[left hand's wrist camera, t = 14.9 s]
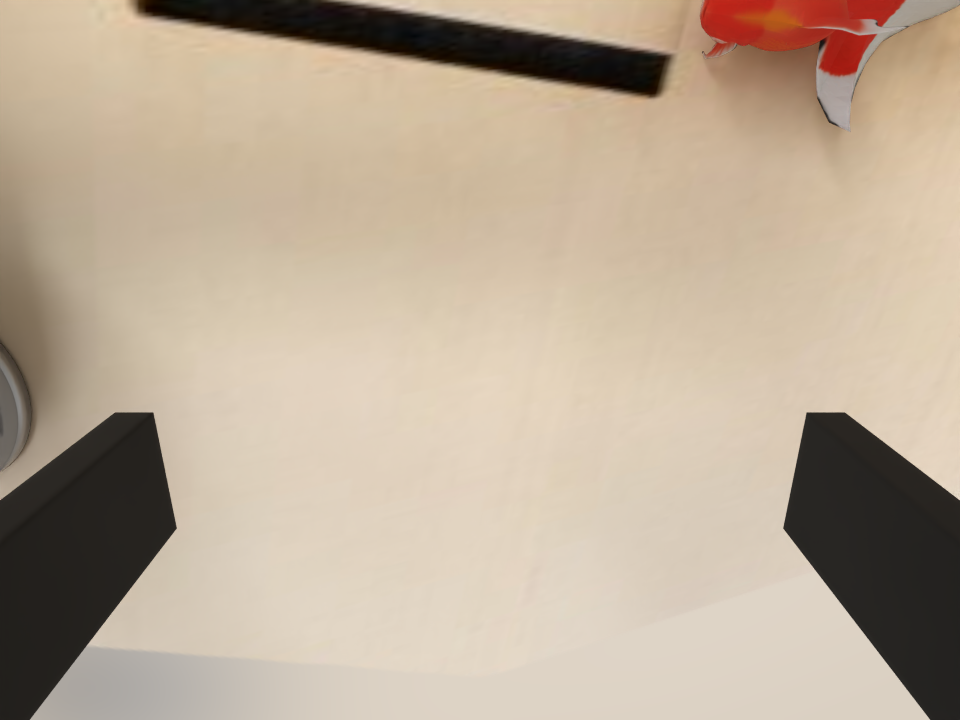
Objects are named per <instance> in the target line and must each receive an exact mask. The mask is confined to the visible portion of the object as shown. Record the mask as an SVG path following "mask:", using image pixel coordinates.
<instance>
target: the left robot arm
mask: <svg viewBox="0 0 960 720" xmlns="http://www.w3.org/2000/svg"><path fill="white" fill-rule="evenodd" d="M30 424H31V406H30V399H29V395H28V391H27V388H26V385H25V382H24V380H23V377H22V375H21V373H20V371H19V369H18V367H17V365H16V364H15V362H14V361H13V359H12V358H11V356H10V355H9V353H8V352H7V351H6V349H5V348H4V347H3V346H2V344H1V343H0V472H1V471H2V470H4V469H5V468H6V467H7V466H9V465H10V464H11V463H12V462H13V461H14V460H15V459H16V458H17V456H18V455H19V454H20V452H21V451H22V449H23V447H24V445H25V443H26V441H27V438H28V435H29V431H30ZM176 529H177V527H176V522H175V517H174V513H173V508H172V503H171V498H170V493H169V488H168V483H167V478H166V473H165V468H164V463H163V458H162V453H161V448H160V443H159V438H158V433H157V428H156V424H155V419H154V414H153V413H114V414H113V415H111V416H110V417H109V418H107V419H106V420H105V421H103V422H102V423H101V424H100V425H98V426H97V427H96V428H94V429H93V430H92V431H90V432H89V433H88V434H86V435H85V436H84V437H83V438H81V439H80V440H79V441H77V442H76V443H75V444H73V445H72V446H71V447H69V448H68V449H67V450H66V451H64V452H63V453H62V454H60V455H59V456H58V457H56V458H55V459H54V460H52V461H51V462H50V463H49V464H47V465H46V466H45V467H43V468H42V469H41V470H39V471H38V472H37V473H35V474H34V475H33V476H32V477H30V478H29V479H28V480H26V481H25V482H24V483H22V484H21V485H20V486H18V487H17V488H16V489H15V490H13V491H12V492H11V493H9V494H8V495H7V496H5V497H4V498H3V499H1V500H0V720H30V719H31V717H32V716H33V715H34V713H35V712H36V711H37V710H38V708H39V707H40V706H41V704H42V703H43V702H44V700H45V699H46V698H47V697H48V695H49V694H50V693H51V691H52V690H53V689H54V687H55V686H56V685H57V684H58V682H59V681H60V680H61V678H62V677H63V676H64V674H65V673H66V672H67V671H68V669H69V668H70V667H71V665H72V664H73V663H74V661H75V660H76V659H77V657H78V656H79V655H80V654H81V652H82V651H83V650H84V648H85V647H86V646H87V644H88V643H89V642H90V641H91V639H92V638H93V637H94V635H95V634H96V633H97V631H98V630H99V629H100V628H101V626H102V625H103V624H104V622H105V621H106V620H107V618H108V617H109V616H110V615H111V613H112V612H113V611H114V609H115V608H116V607H117V605H118V604H119V603H120V602H121V600H122V599H123V598H124V596H125V595H126V594H127V592H128V591H129V590H130V588H131V587H132V586H133V585H134V583H135V582H136V581H137V579H138V578H139V577H140V575H141V574H142V573H143V572H144V570H145V569H146V568H147V566H148V565H149V564H150V562H151V561H152V560H153V559H154V557H155V556H156V555H157V553H158V552H159V551H160V549H161V548H162V547H163V546H164V544H165V543H166V542H167V540H168V539H169V538H170V536H171V535H172V534H173V533H174V531H175V530H176ZM783 529H784V530H785V531H786V533H787V534H788V535H789V536H790V538H791V539H792V540H793V542H794V543H795V544H796V546H797V547H798V548H799V549H800V551H801V552H802V553H803V555H804V556H805V557H806V559H807V560H808V561H809V562H810V564H811V565H812V566H813V568H814V569H815V570H816V572H817V573H818V574H819V575H820V577H821V578H822V579H823V581H824V582H825V583H826V585H827V586H828V587H829V588H830V590H831V591H832V592H833V594H834V595H835V596H836V598H837V599H838V600H839V602H840V603H841V604H842V605H843V607H844V608H845V609H846V611H847V612H848V613H849V615H850V616H851V617H852V618H853V620H854V621H855V622H856V624H857V625H858V626H859V628H860V629H861V630H862V631H863V633H864V634H865V635H866V637H867V638H868V639H869V640H870V642H871V643H872V644H873V646H874V647H875V648H876V650H877V651H878V652H879V654H880V655H881V656H882V657H883V659H884V660H885V661H886V663H887V664H888V665H889V667H890V668H891V669H892V670H893V672H894V673H895V674H896V676H897V677H898V678H899V680H900V681H901V682H902V684H903V685H904V686H905V687H906V689H907V690H908V691H909V693H910V694H911V695H912V697H913V698H914V699H915V700H916V702H917V703H918V704H919V706H920V707H921V708H922V710H923V711H924V712H925V713H926V715H927V716H928V717H929V719H930V720H960V500H959V499H957V498H956V497H955V496H953V495H952V494H951V493H949V492H948V491H947V490H945V489H944V488H943V487H942V486H940V485H939V484H938V483H936V482H935V481H934V480H932V479H931V478H930V477H928V476H927V475H926V474H925V473H923V472H922V471H921V470H919V469H918V468H917V467H915V466H914V465H913V464H911V463H910V462H909V461H908V460H906V459H905V458H904V457H902V456H901V455H900V454H898V453H897V452H896V451H894V450H893V449H892V448H891V447H889V446H888V445H887V444H885V443H884V442H883V441H881V440H880V439H879V438H877V437H876V436H875V435H874V434H872V433H871V432H870V431H868V430H867V429H866V428H864V427H863V426H862V425H860V424H859V423H858V422H857V421H855V420H854V419H853V418H851V417H850V416H849V415H847V414H846V413H807V414H806V419H805V424H804V428H803V433H802V438H801V443H800V448H799V453H798V458H797V463H796V468H795V473H794V478H793V483H792V488H791V493H790V498H789V503H788V508H787V513H786V517H785V522H784V527H783Z"/></svg>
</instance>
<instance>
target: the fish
mask: <svg viewBox="0 0 960 720" xmlns="http://www.w3.org/2000/svg"><path fill="white" fill-rule="evenodd" d="M959 5H960V0H704V1H703V3H702V5H701V12H700V20H701V25H702V28H703V29H704V30H705V32H706V33H707V34H708V35H709V36H710V37H711V38H712V39H713V40H714V41H716V42H717V43H716V44H715V45H714V47H713V48H712V50H711V51H710V52H709V53H708V54H707V55H705V53H704V51H703V52H702V53H703V56H704V59H708V58H714V57H719V56H721V55H724V54H726V53H728V52H730V51H732V50H733V49H735V47H736V46H737V44H738V45H742V46H746V45H748V44H749V45H752V46H754V47H757V48H760V49H762V50H767V51H787V50H794V49H799V48H803V47H807V46H810V45H813V44H815V43H817V42H819V41H820V46H819V53H818V60H817V67H816V87H817V99H818V101H819V103H820V105H821V107H822V109H823V111H824V113H825V115H826V117H827V119H828V121H829V123H832V124H834V125H836V126H838V127H841V128H843V129H845V130H847V131H850V107H851V101H852V97H853V93H854V89H855V86H856V84H857V82H858V79H859V77H860V75H861V73H862V70H863V68H864V66H865V64H866V62H867V61H868V59H869V58H870V56H871V55H872V53H873V52H874V51H875V49H876V48H877V47H878V45H879V44H880V43H881V42H882V41H884V40H885V39H887V38H889V37H891V36H892V35H894V34H896V33H898V32H900V31H902V30H903V29H905V28H907V27H909V26H911V25H913V24H916V23H919V22H921V21H924V20H927V19H930V18H932V17H935V16H937V15H940V14H942V13H945V12H947V11H949V10H951V9H953V8H955V7H957V6H959Z"/></svg>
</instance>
